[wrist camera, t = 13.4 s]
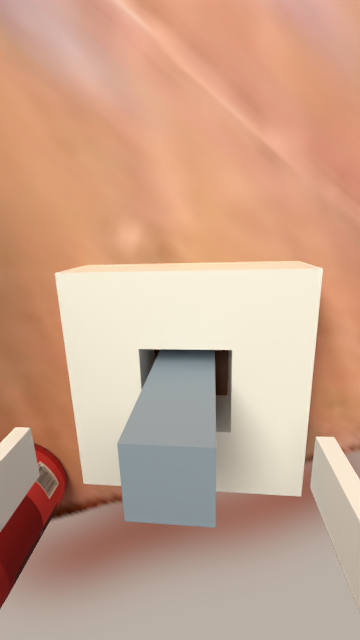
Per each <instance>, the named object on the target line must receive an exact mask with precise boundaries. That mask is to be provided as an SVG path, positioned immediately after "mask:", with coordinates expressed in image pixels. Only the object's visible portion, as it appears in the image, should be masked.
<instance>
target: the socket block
mask: <svg viewBox="0 0 360 640" xmlns="http://www.w3.org/2000/svg"><path fill="white" fill-rule="evenodd" d="M322 273H323V268H320V267H317V266H314V265H311V264H307V263H304V262H301V261H269V262H218V263H168V264H117V265H85V266H81V267H77V268H73V269H69V270H65V271H61V272H57V273H55V278H56V285H57V293H58V300H59V307H60V315H61V322H62V329H63V336H64V344H65V351H66V358H67V366H68V373H69V380H70V388H71V395H72V402H73V409H74V417H75V424H76V431H77V439H78V446H79V453H80V461H81V468H82V475H83V482H84V484H96V485H113V486H121V478H120V468H119V458H118V447H117V443H118V441H119V438H120V436H121V434H122V432H123V430H124V428H125V425H126V423H127V421H128V419H129V417H130V414H131V412H132V410H133V408H134V406H135V403H136V401H137V399H138V397H139V395H140V393H141V390H142V388H143V386H144V384H145V382H146V379H147V377H148V375H149V373H150V371H151V369H152V366H153V364H154V362H155V354H154V349H180V350H228V388H227V396H226V395H215V397H216V492H233V493H251V494H267V495H285V496H301V493H302V483H303V472H304V462H305V451H306V441H307V430H308V420H309V409H310V399H311V388H312V378H313V367H314V357H315V347H316V336H317V326H318V315H319V305H320V294H321V284H322Z"/></svg>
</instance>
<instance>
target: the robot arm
mask: <svg viewBox="0 0 360 640" xmlns="http://www.w3.org/2000/svg"><path fill="white" fill-rule="evenodd" d="M39 475H40V474H39V469H38V463H37V458H36V453H35V448H34V443H33V437H32V432H31V428H24V427H15V428H14V429H13V430H12V431H11V432H10V433H9V434H8V435H7V436H6V437H5V438H4V439H3V441H2V442H1V443H0V532H1V530H2V529H3V528H4V526H5V525H6V523H7V522H8V520H9V519H10V517H11V516H12V515H13V513H14V512H15V510H16V509H17V507H18V506H19V504H20V503H21V501H22V500H23V499H24V497H25V496H26V494H27V493H28V491H29V490H30V488H31V487H32V485H33V484H34V483H35V481H36V480H37V478H38V477H39ZM310 488H311V491H312V493H313V496H314V499H315V501H316V503H317V506H318V509H319V511H320V514H321V516H322V519H323V521H324V524H325V527H326V529H327V532H328V534H329V537H330V539H331V542H332V544H333V547H334V549H335V552H336V554H337V557H338V559H339V562H340V565H341V567H342V569H343V572H344V575H345V577H346V580H347V582H348V585H349V587H350V590H351V592H352V595H353V597H354V600H355V602H356V605H357V608H358V610H359V613H360V479H359V478H358V476H357V474H356V473H355V471H354V469H353V468H352V466H351V465H350V463H349V461H348V460H347V458H346V456H345V455H344V453H343V451H342V450H341V448H340V446H339V445H338V443H337V441H336V440H335V438H334V437H316V438H315V447H314V457H313V466H312V475H311V485H310Z"/></svg>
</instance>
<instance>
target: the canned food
mask: <svg viewBox="0 0 360 640" xmlns="http://www.w3.org/2000/svg"><path fill="white" fill-rule="evenodd" d="M34 448H35V453H36V458H37V463H38V469H39V474H40V475H39V477H38V478H37V480H36V481H35V483H34V484H33V485H32V487H31V488H30V490H29V491H28V493H27V494H26V496H25V497H24V499H23V500H22V501H21V503H20V504H19V506H18V507H17V509H16V510H15V512H14V513H13V515H12V516H11V517H10V519H9V520H8V522H7V523H6V525H5V526H4V528H3V529H2V530H1V532H0V608H1V607H2V605H3V603H4V602H5V600H6V598H7V597H8V595H9V593H10V591H11V589H12V588H13V586H14V584H15V582H16V580H17V579H18V577H19V575H20V573H21V572H22V570H23V568H24V566H25V564H26V563H27V561H28V559H29V557H30V555H31V554H32V552H33V550H34V548H35V546H36V545H37V543H38V541H39V539H40V538H41V536H42V534H43V532H44V530H45V529H46V527H47V525H48V523H49V522H50V520H51V518H52V516H53V514H54V513H55V511H56V509H57V507H58V505H59V504H60V502H61V500H62V498H63V496H64V492H65V487H66V475H65V471H64V469H63V467H62V465H61V463H60V462H59V461H58V459H57V458H56V457H55V456H54V455H53V454H52V453H50V452H49V451H47V450H46V449H44V448H42V447H40V446H38V445H36V444H34Z"/></svg>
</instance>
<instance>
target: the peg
mask: <svg viewBox="0 0 360 640" xmlns="http://www.w3.org/2000/svg"><path fill="white" fill-rule="evenodd" d="M117 447H118V458H119V468H120V478H121V489H122V499H123V509H124V519H125V521H130V522H143V523H156V524H171V525H184V526H199V527H212V528H216V397H215V350H180V349H160V351H159V353H158V355H157V358H156V360H155V362H154V364H153V366H152V369H151V371H150V373H149V375H148V377H147V379H146V382H145V384H144V386H143V388H142V390H141V393H140V395H139V397H138V399H137V401H136V403H135V406H134V408H133V410H132V412H131V414H130V417H129V419H128V421H127V423H126V425H125V428H124V430H123V432H122V434H121V436H120V438H119V441H118V443H117Z"/></svg>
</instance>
